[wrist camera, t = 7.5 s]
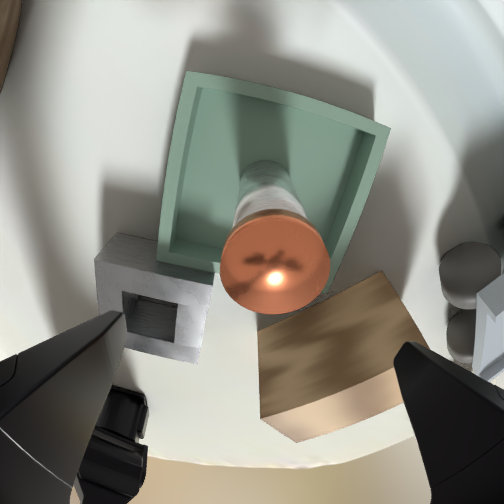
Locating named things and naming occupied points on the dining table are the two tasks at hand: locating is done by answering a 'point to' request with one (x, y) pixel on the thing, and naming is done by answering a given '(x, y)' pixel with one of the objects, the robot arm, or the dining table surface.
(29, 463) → the robot arm
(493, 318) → the trolley
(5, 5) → the plant saucer
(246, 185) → the pin
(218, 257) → the tray
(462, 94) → the dining table surface
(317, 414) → the block
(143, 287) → the holder
